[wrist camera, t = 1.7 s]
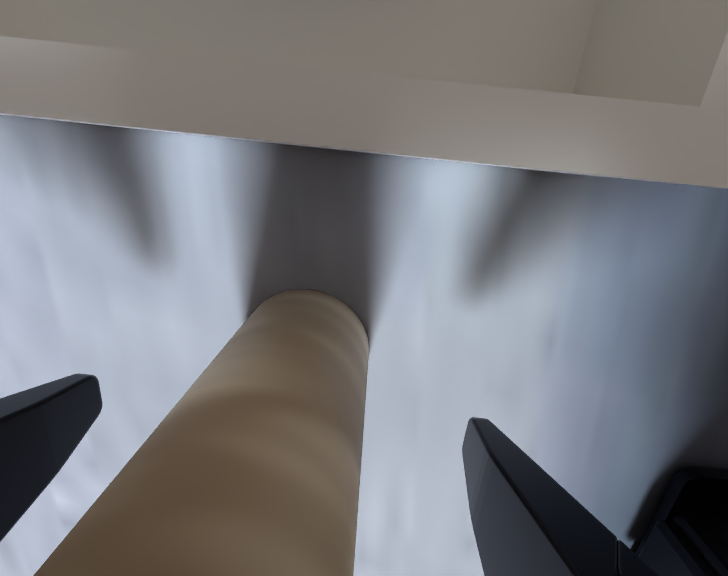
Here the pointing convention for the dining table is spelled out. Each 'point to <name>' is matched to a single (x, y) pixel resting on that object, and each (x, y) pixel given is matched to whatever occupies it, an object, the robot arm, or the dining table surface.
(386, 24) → the box
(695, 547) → the robot arm
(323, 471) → the dowel
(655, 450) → the dining table surface
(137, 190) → the dining table surface
